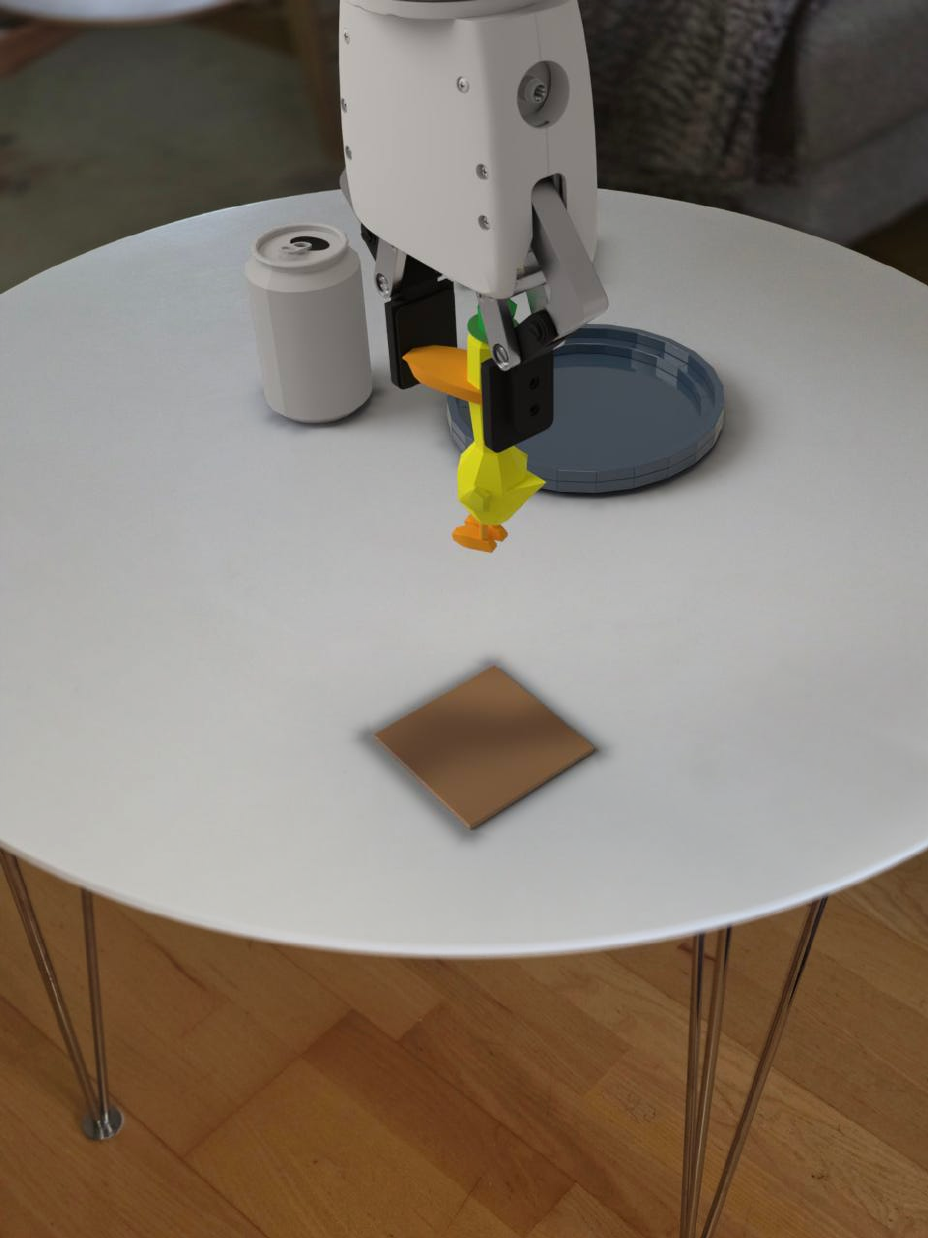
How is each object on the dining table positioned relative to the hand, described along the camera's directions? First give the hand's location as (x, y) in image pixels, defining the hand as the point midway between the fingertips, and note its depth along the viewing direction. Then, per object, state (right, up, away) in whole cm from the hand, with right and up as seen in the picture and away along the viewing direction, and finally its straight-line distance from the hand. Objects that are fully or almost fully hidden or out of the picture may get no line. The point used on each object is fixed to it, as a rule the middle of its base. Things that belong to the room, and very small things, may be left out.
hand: (470, 402), depth 57 cm
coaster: (+1, -16, +13) cm, 20 cm away
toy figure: (0, -5, +5) cm, 7 cm away
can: (-10, +6, +38) cm, 40 cm away
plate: (+8, +4, +35) cm, 36 cm away
